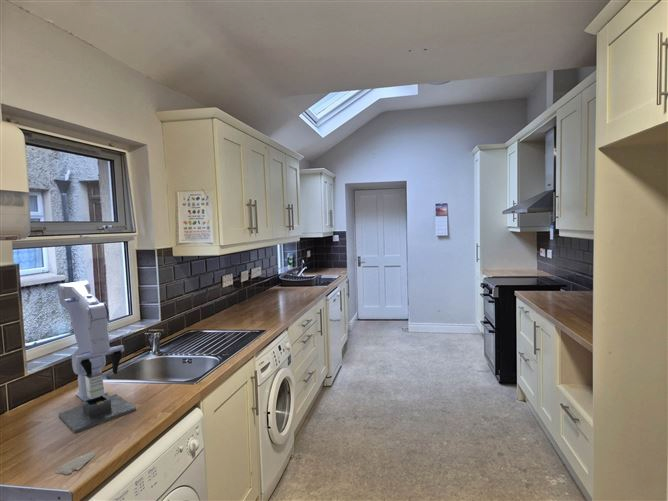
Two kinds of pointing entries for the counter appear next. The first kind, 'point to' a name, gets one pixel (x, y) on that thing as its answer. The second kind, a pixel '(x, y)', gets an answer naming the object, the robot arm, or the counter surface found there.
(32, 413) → the counter surface
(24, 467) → the counter surface
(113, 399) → the stand base
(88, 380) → the column
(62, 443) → the counter surface
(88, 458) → the arrowhead
